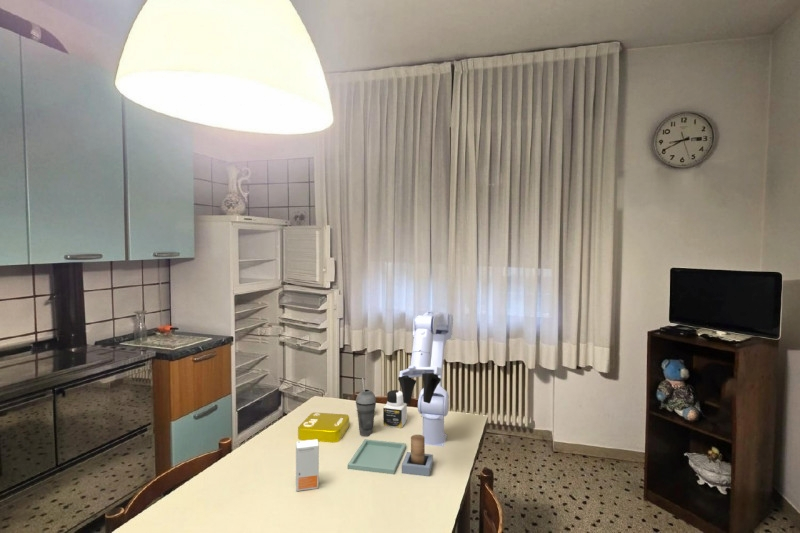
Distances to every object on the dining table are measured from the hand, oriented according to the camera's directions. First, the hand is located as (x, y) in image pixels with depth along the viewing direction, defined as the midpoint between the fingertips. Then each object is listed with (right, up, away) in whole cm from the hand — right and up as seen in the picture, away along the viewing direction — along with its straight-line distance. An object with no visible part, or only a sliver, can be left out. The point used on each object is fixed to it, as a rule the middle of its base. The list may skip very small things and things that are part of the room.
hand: (416, 403), depth 115 cm
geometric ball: (-18, -21, +49) cm, 57 cm away
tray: (-11, -22, +15) cm, 29 cm away
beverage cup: (-16, -22, +33) cm, 42 cm away
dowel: (+1, -22, +8) cm, 23 cm away
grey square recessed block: (+1, -22, +8) cm, 24 cm away
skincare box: (-30, -23, 0) cm, 38 cm away
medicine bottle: (-6, -21, +42) cm, 47 cm away
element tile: (-31, -22, +34) cm, 51 cm away
